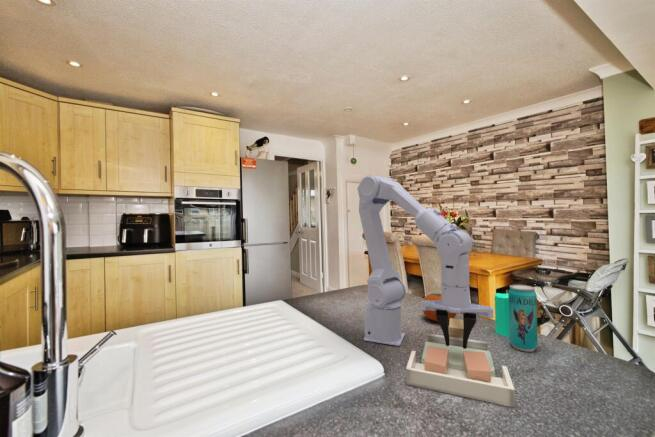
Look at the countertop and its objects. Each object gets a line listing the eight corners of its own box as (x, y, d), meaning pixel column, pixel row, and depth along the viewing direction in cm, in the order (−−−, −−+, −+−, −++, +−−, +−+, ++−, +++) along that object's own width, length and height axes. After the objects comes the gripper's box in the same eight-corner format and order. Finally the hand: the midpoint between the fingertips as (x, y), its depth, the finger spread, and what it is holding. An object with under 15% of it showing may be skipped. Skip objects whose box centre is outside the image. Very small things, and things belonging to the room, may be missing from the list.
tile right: (467, 380, 56) (467, 369, 56) (463, 360, 61) (463, 350, 60) (490, 382, 55) (491, 371, 54) (484, 362, 60) (484, 352, 59)
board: (421, 365, 63) (421, 358, 63) (425, 347, 72) (425, 341, 72) (495, 379, 57) (495, 371, 57) (490, 358, 66) (489, 351, 66)
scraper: (428, 348, 72) (427, 326, 72) (430, 335, 79) (430, 315, 79) (487, 357, 66) (487, 333, 66) (484, 343, 74) (483, 322, 74)
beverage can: (511, 350, 70) (510, 288, 70) (507, 341, 75) (506, 283, 75) (540, 355, 67) (539, 290, 67) (534, 345, 72) (533, 285, 72)
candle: (524, 338, 76) (523, 293, 76) (500, 336, 78) (499, 292, 78) (514, 329, 82) (514, 287, 82) (491, 328, 83) (491, 287, 84)
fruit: (464, 325, 86) (464, 298, 86) (432, 327, 85) (431, 300, 85) (444, 313, 97) (444, 290, 97) (415, 315, 95) (415, 291, 95)
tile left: (424, 371, 60) (424, 361, 59) (429, 354, 64) (428, 345, 63) (445, 376, 58) (445, 366, 57) (448, 359, 62) (448, 349, 61)
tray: (406, 384, 56) (405, 368, 56) (412, 364, 64) (412, 350, 64) (515, 407, 49) (514, 390, 49) (506, 381, 56) (506, 366, 56)
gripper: (419, 285, 63) (419, 347, 63) (494, 291, 57) (495, 359, 57) (422, 279, 70) (423, 335, 70) (491, 284, 64) (491, 345, 64)
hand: (456, 345), depth 64 cm, fingers open, 3 cm apart
